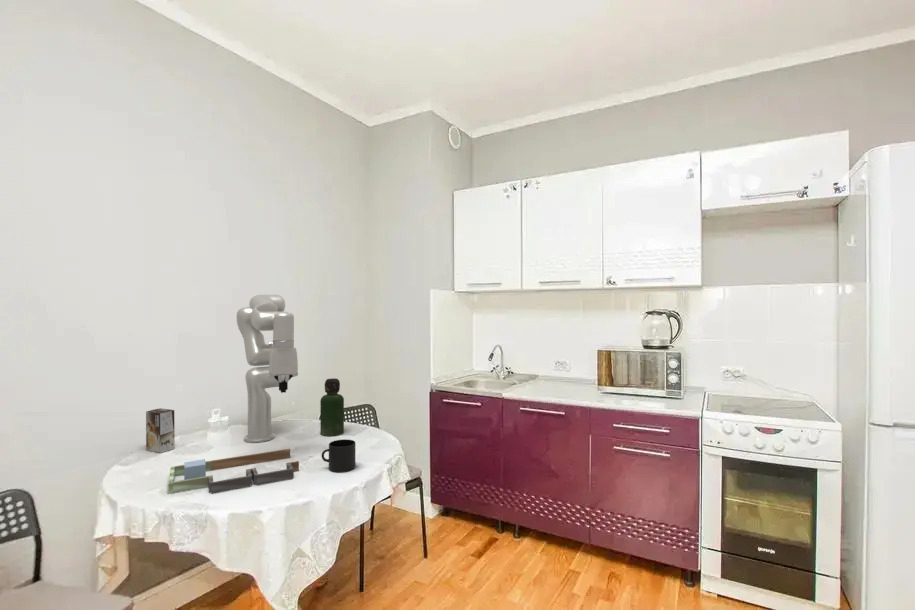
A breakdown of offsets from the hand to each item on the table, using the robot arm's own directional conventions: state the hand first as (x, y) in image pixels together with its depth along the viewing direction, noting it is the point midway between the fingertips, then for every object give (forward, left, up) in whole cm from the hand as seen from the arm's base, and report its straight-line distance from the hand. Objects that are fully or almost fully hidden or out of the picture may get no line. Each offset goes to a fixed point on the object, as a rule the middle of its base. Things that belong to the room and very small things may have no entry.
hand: (283, 391), depth 175 cm
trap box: (+12, -17, -25) cm, 33 cm away
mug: (+22, +16, -26) cm, 37 cm away
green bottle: (-24, +26, -26) cm, 44 cm away
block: (+9, -29, -26) cm, 40 cm away
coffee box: (-36, -42, -26) cm, 61 cm away
